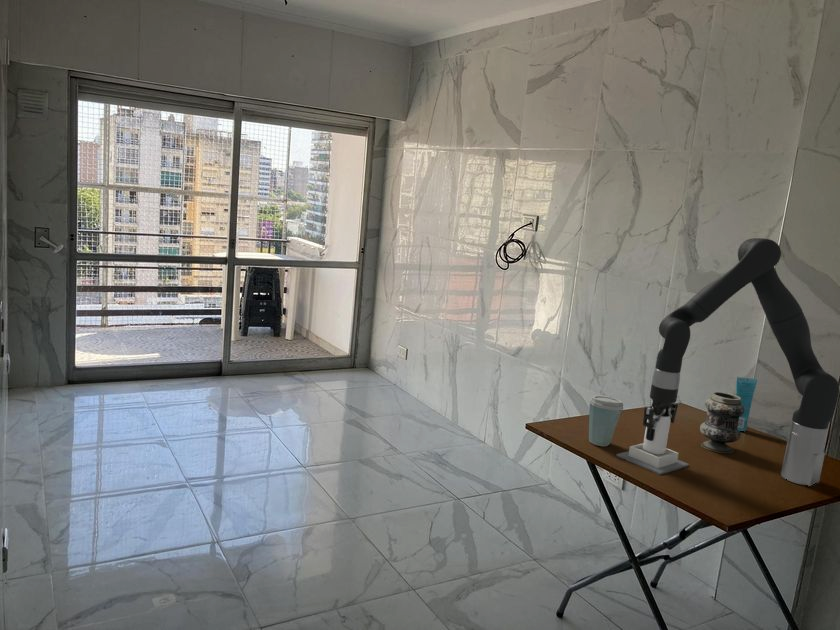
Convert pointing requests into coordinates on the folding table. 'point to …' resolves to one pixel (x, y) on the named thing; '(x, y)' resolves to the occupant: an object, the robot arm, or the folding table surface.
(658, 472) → the board
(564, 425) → the folding table surface
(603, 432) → the disposable coffee cup
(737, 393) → the tube
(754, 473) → the folding table surface
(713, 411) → the apothecary jar
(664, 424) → the can
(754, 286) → the robot arm
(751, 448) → the folding table surface
